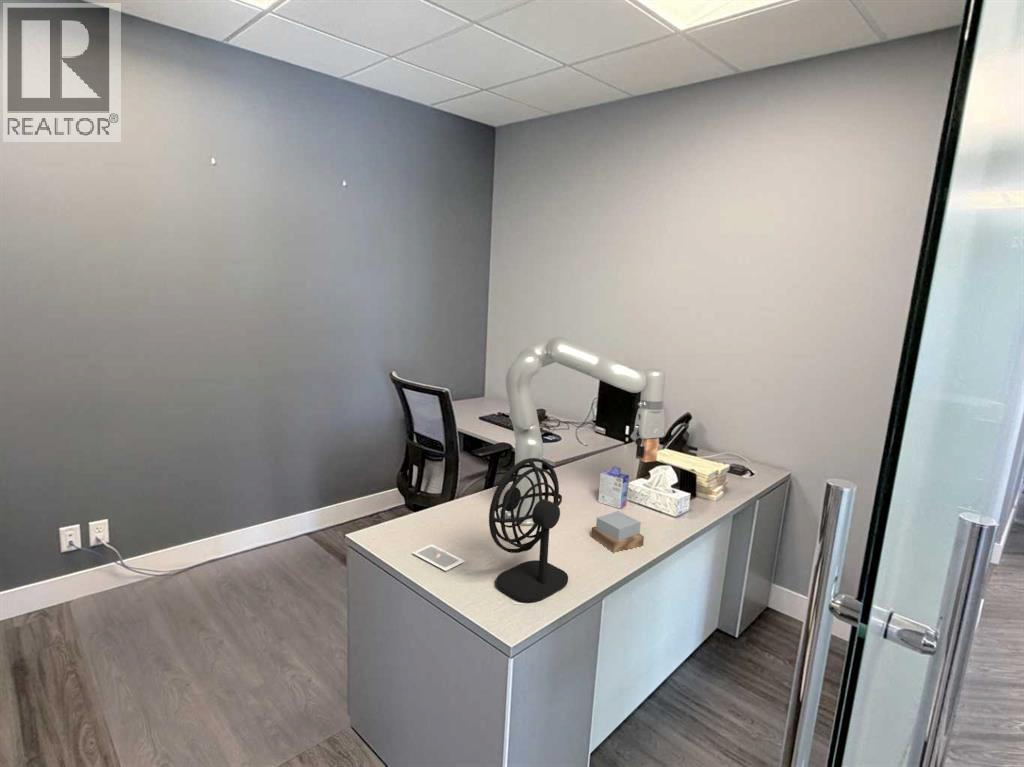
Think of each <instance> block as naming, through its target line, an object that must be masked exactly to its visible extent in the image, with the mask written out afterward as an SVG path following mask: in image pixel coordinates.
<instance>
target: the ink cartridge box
mask: <svg viewBox="0 0 1024 767" xmlns="http://www.w3.org/2000/svg"><path fill="white" fill-rule="evenodd" d="M621 471H622V468H621V467H617V466H612V468H611V470H608V469H606V470H603V471H601V472H600V475H599V476H600V477H599V487H598V488H599V489H598V490H599V491H598V500H597V502H598V503H601V504H604V505H607V506H611V507H613V508H616V509H621V508H624V507H626V506H627V503H628V502H627V501H628V489H629V488H628V487H629V480H630V478H629V477H630V476H629V474H624V473H621Z"/></svg>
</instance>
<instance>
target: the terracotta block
mask: <svg viewBox="0 0 1024 767" xmlns="http://www.w3.org/2000/svg"><path fill="white" fill-rule="evenodd" d="M658 440H659V439H658V438H652V439H645V442H644V445H643V446H644V457H643V458H641V457H639V456H637V455H636V454H635V459H636V460H639V461H642V462H643V463H649V462H656V461H657V459H658V450H659V449H658V448H659V445H658ZM640 441H641V440H640ZM636 452H637V449H636ZM636 452H635V453H636Z"/></svg>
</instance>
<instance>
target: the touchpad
mask: <svg viewBox="0 0 1024 767" xmlns="http://www.w3.org/2000/svg"><path fill="white" fill-rule="evenodd" d="M412 554H413V555H415V556H417V557H419V558H421V559H423V560H424V561H427V562H428V563H430V564H432V565H434V566H436V567H438V568H439V569H442V570H443V571H445V572H447V571H449V570H451V569H452V568H455V567H456V566H458V565H460V564H462V563H464V562H466V560H464V559H462V558H460V557H459V556H456V555H454V554H452V553H450V552H448V551H446V550H444V549H442V548H440V547H439V546H436V545H434V544H432V543H431V544H429V545H427V546H424V547H422V548H420V549H418V550H415V551H413V552H412Z"/></svg>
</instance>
